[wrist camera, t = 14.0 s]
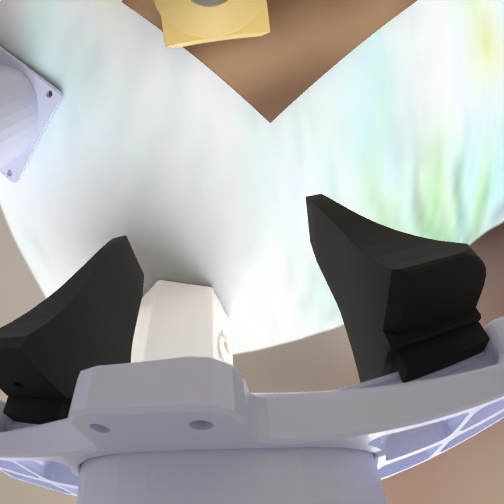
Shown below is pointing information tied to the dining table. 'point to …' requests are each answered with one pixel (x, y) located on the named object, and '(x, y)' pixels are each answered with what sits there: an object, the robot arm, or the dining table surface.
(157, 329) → the jar
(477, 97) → the dining table surface
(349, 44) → the board
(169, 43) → the yellow socket block
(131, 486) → the robot arm
